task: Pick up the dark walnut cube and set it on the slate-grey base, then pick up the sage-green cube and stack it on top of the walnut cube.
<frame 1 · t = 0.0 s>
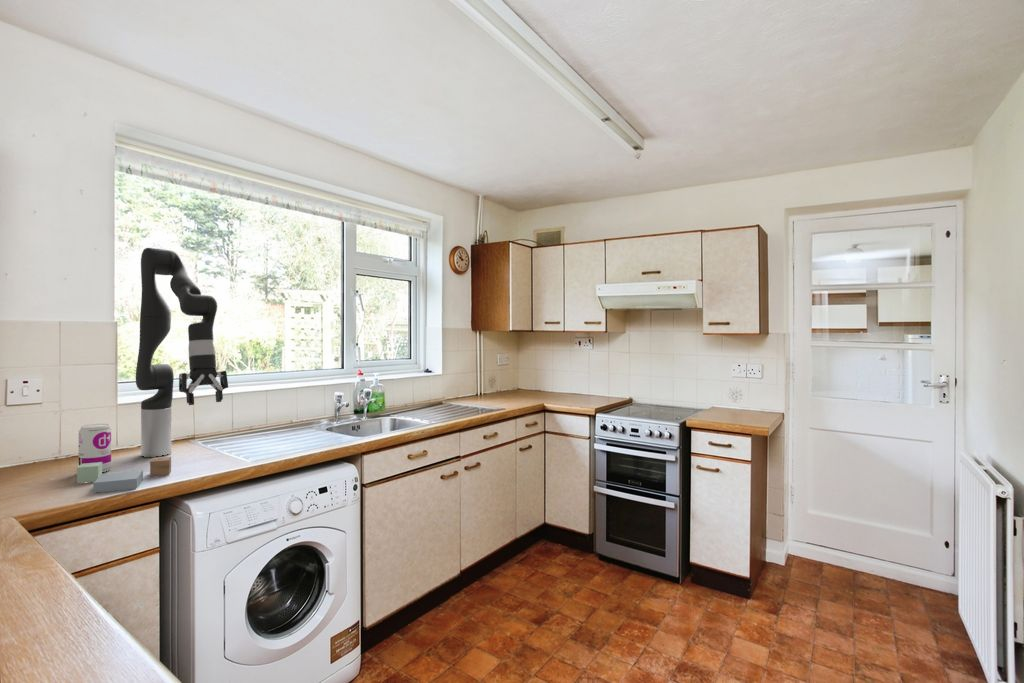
hand: (205, 403, 169), 22 cm above the countertop, tool pointing down, fingers open, 8 cm apart
walnut cube: (160, 474, 165), on the countertop
slate base: (119, 486, 152), on the countertop
sage cube: (89, 481, 157), on the countertop
supplement can: (95, 472, 166), on the countertop
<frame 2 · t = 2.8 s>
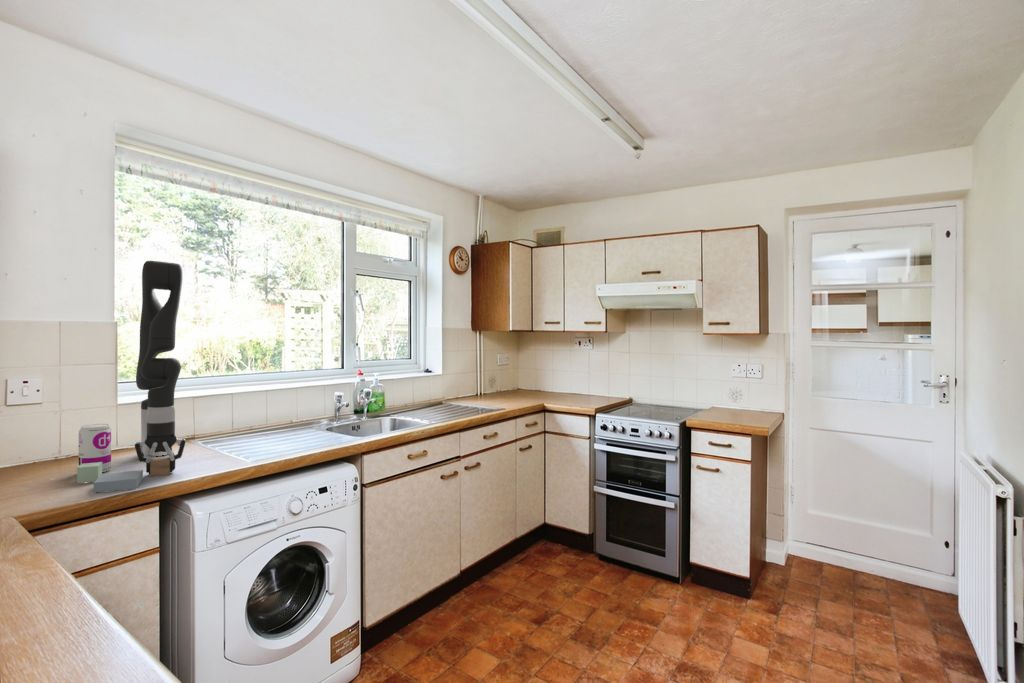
hand: (160, 472, 165), 0 cm above the countertop, tool pointing down, fingers closed on walnut cube, 5 cm apart
walnut cube: (160, 474, 165), on the countertop, touching gripper
everything else where it was.
when the fingers open (5 cm above the countertop, at t = 7.8 s): walnut cube drops 1 cm, resting on slate base.
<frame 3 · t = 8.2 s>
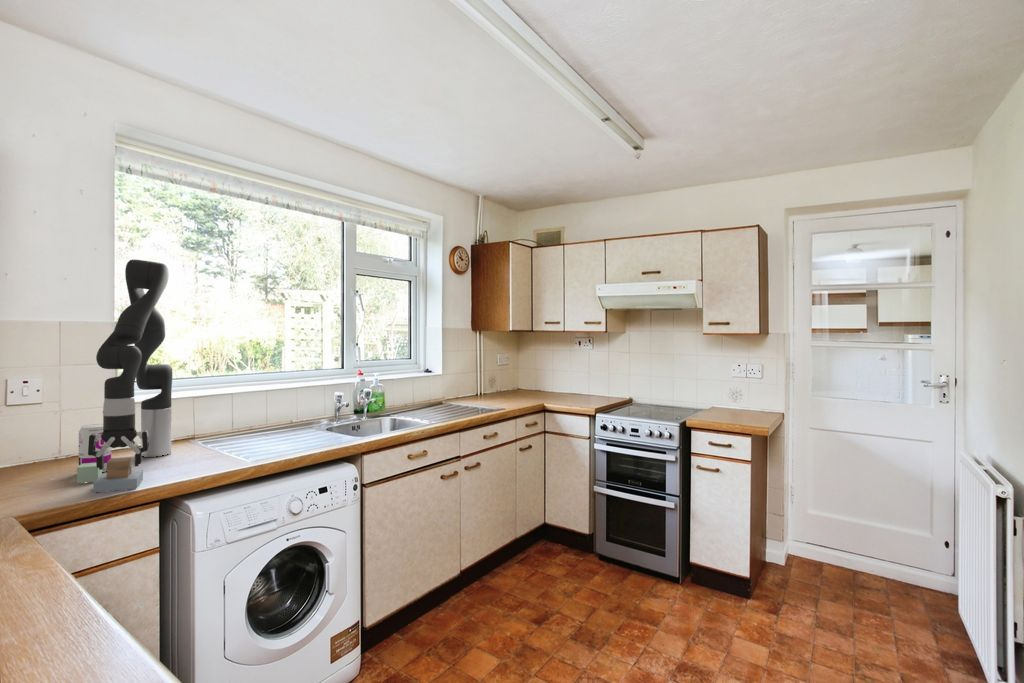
hand: (119, 467, 152), 6 cm above the countertop, tool pointing down, fingers open, 8 cm apart
walnut cube: (119, 476, 152), point 3 cm above the countertop, touching slate base
everything else where it was.
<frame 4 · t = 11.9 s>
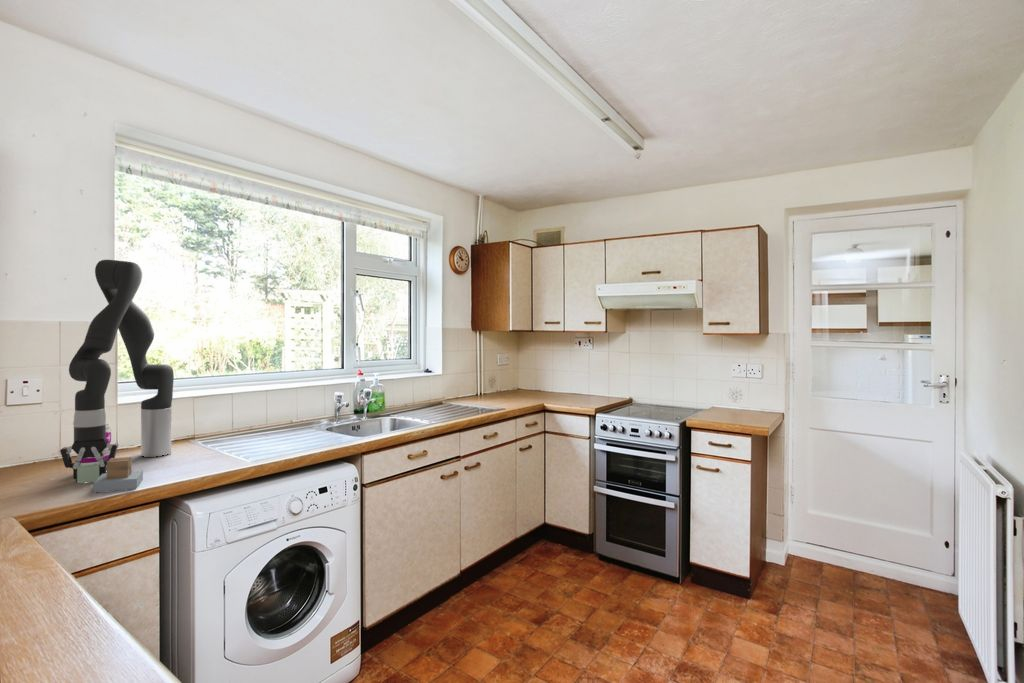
hand: (89, 479, 157), 0 cm above the countertop, tool pointing down, fingers closed on sage cube, 5 cm apart
sage cube: (90, 480, 157), on the countertop, touching gripper
everything else where it was.
when the fingers open (10 cm above the countertop, at t = 16.5 s): sage cube drops 1 cm, resting on walnut cube.
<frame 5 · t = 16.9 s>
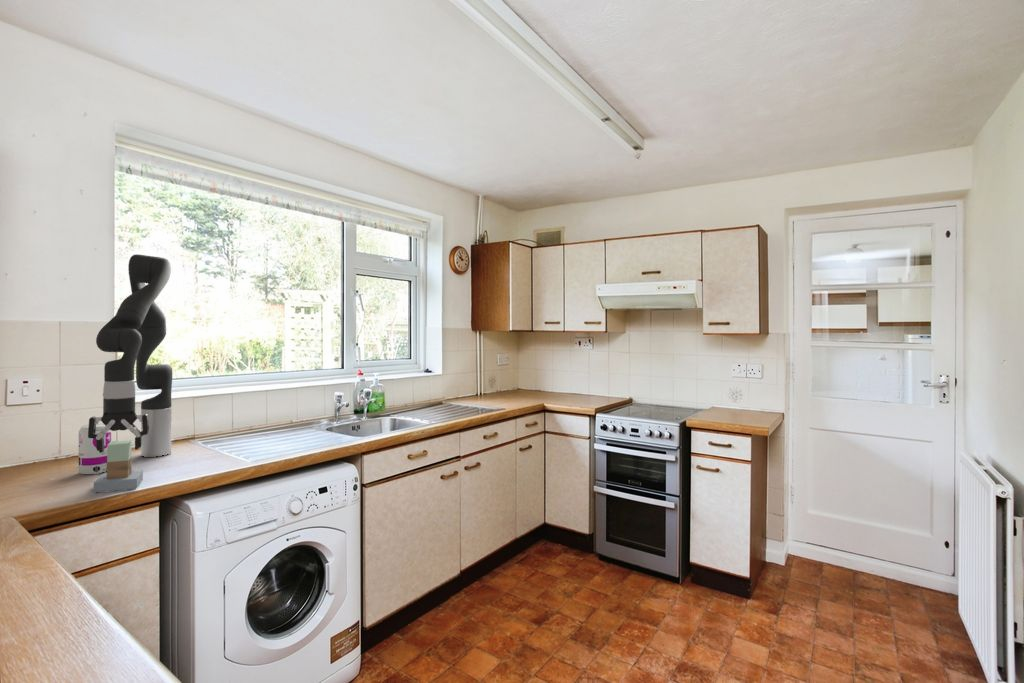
hand: (119, 450, 152), 11 cm above the countertop, tool pointing down, fingers open, 8 cm apart
walnut cube: (119, 476, 152), point 3 cm above the countertop, touching sage cube, slate base
sage cube: (119, 459, 152), point 8 cm above the countertop, touching walnut cube
everything else where it was.
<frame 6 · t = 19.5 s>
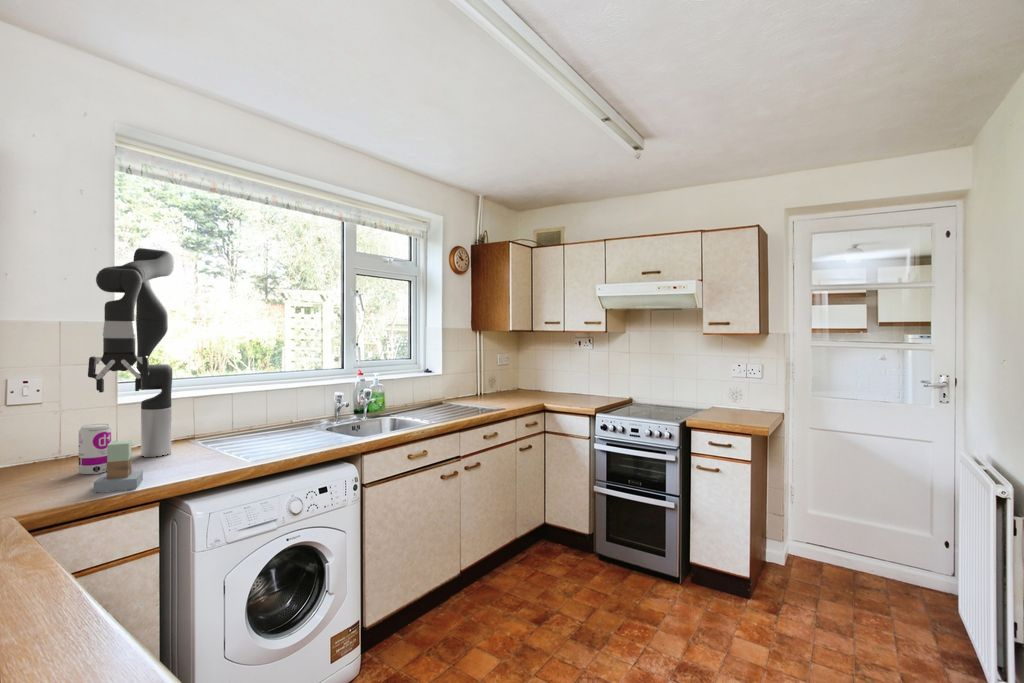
hand: (119, 391, 152), 28 cm above the countertop, tool pointing down, fingers open, 8 cm apart
nothing on the countertop moved.
at the end: walnut cube 0.0 cm off-centre on the slate base, point 3.0 cm above the slate base's base; sage cube 0.1 cm off-centre on the walnut cube, point 5.0 cm above the walnut cube's base; sage cube tilted 0° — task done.
